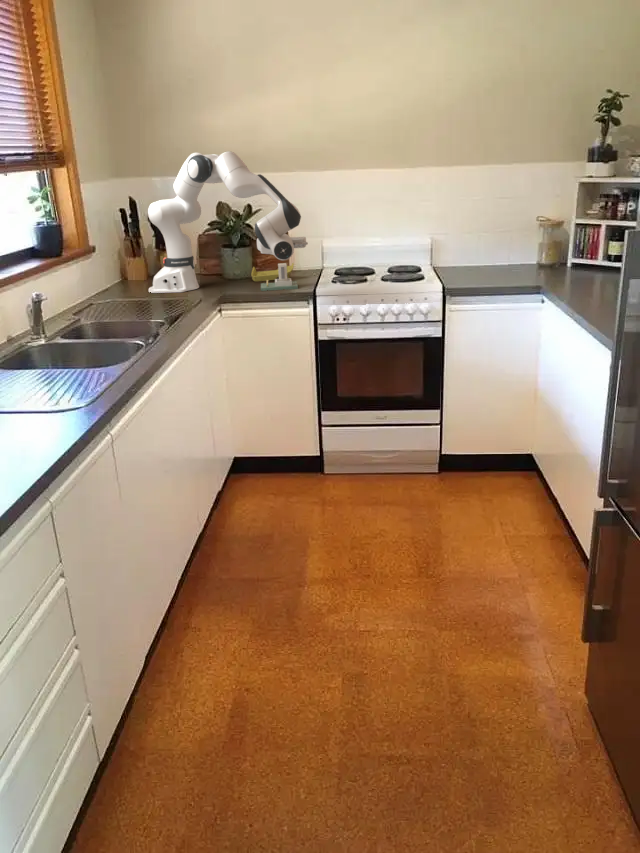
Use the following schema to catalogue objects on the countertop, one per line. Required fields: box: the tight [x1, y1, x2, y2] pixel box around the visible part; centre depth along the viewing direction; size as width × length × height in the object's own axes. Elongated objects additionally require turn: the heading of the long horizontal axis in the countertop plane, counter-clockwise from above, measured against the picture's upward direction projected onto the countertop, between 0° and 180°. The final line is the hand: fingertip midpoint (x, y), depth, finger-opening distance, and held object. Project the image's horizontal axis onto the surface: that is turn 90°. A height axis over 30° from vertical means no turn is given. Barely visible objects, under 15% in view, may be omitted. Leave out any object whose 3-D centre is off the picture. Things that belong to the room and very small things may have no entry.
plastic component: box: [250, 262, 295, 282], centre depth 344 cm, size 20×7×10 cm
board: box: [260, 277, 299, 292], centre depth 323 cm, size 16×12×3 cm
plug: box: [277, 262, 288, 281], centre depth 321 cm, size 4×4×9 cm
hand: (281, 240), depth 304 cm, fingers open, 8 cm apart
